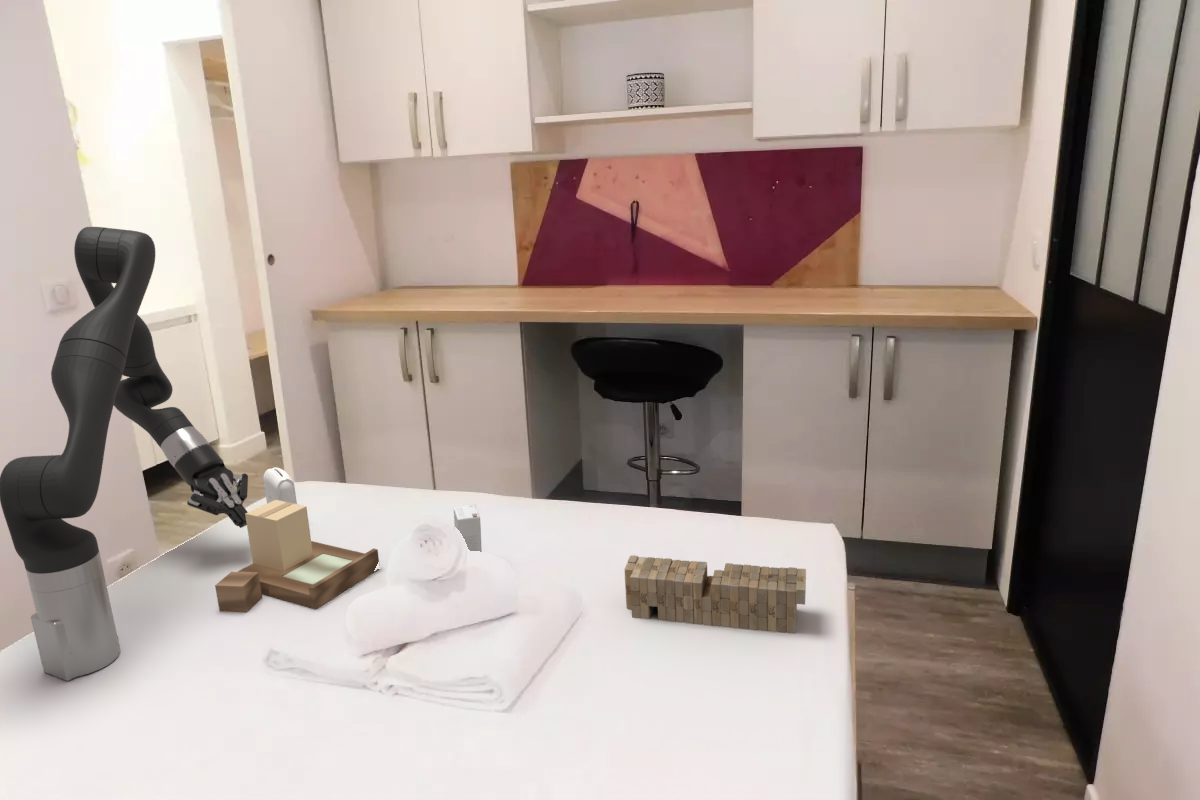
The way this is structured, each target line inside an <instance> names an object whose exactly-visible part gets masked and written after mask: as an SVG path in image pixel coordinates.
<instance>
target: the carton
mask: <svg viewBox="0 0 1200 800" xmlns="http://www.w3.org/2000/svg"><path fill="white" fill-rule="evenodd" d="M308 515H309V514H308V508H307V505H302V504H298V503H297V504H293V503H289V502H284V501H279V500H274V501H272V502H270V503H267V502H266V503H265V504H264V505H261V506H258V507H256V508H254V509H252V510H250V511H247V513H245V517H246V523H247V525H246V529H247V536H248V541H249V546H250V553H251V558H252V559H251V561H252V564H253V563H254V564H258V565H261V566H265V567H269V568H273V569H277V570H280V571H286V570H287V569H289V568H291V567H293V566H295V565H296V564H298V563H300V562H302V561H304V560H305V559H307V558H309V557H311V556H313V551H312V544H311V541H312V538H311V537H312V536H311V529H310V524H309V523H310V522H309V516H308Z"/></svg>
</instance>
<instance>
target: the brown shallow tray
mask: <svg viewBox="0 0 1200 800" xmlns="http://www.w3.org/2000/svg"><path fill="white" fill-rule="evenodd" d="M311 544H312V551H313V556H311V557H309V558H307V559H305V560H304V561H302V562H300V563H298V564H296V565H295V566H293V567H291V568H289V569H287V570H286V571H280V570H277V569H273V568H269V567H265V566H261V565H258V564H254V563H253V562H252V563H250V564H249V565H248V566H247V565H246V566H244V567H243V568H241V569H239V570H237V571H236V572H258V573H259V580H260V586H261V592H262V596H263V595H264V596H267V597H270V598H275V599H278V600H281V601H286V602H288V603H293V604H296V605H299V606H303V607H307V608H309V609H313V610H317V609H319V608H320V607H322V606H324V605H325V604H326V603H328V602H330V601H332V600H334V599H335V598H336V597H338V596H339V595H340V594H342V593H344V592H346V591H347V590H348V589H350V588H352V587H353V586H355V585H356V584H358V583H360V582H361V581H363V580H364V579H366V578H367V577H370V576H371V575H372V574H374V573H375V572H374V570H375V568H376V566H377V564H378V562H379V563H380V558H379V550H378V549H377V548H372V549H370V550H369V551H366V552H365V553H364V552H360V551H356V550H352V549H347V548H342V547H339V546H334V545H329V544H326V543H321V542H318V541H313V540H311ZM373 572H374V573H373Z"/></svg>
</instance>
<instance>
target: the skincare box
mask: <svg viewBox="0 0 1200 800" xmlns="http://www.w3.org/2000/svg"><path fill="white" fill-rule="evenodd" d="M453 519H454V520H453V522H454V528H455V527H456V528H457V529H458V530H459V531H460V533H461V534H462V536H463V538H464V539H465V542H466V544H467V547H468V549H469V550H470V551H480V552H482V548H483V547H482V528H481V527H482V526H481V516H480V514H479V509H478V508H477V506H476V504H469V505H468V504H466V505H461V506H454V507H453Z"/></svg>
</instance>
